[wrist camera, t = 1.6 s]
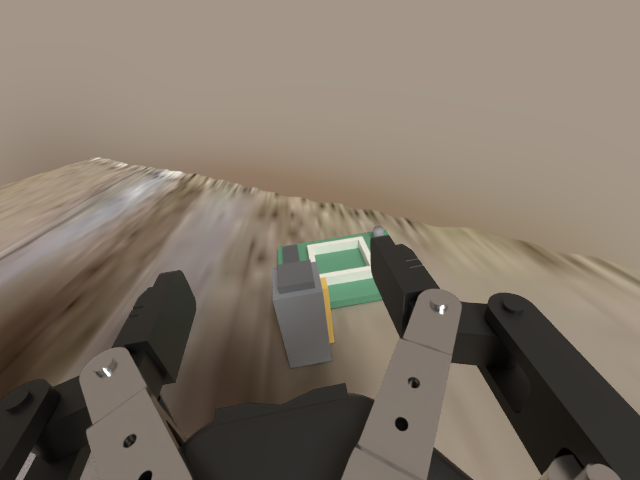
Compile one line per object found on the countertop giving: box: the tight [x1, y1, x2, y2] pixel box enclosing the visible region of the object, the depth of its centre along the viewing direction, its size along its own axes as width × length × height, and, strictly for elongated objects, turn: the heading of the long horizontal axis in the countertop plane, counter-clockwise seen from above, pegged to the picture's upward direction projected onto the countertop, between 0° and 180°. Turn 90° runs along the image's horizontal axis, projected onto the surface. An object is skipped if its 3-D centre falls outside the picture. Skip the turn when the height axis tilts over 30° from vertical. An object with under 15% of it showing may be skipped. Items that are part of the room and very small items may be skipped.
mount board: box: [278, 226, 389, 309], centre depth 42 cm, size 18×14×3 cm
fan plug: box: [273, 260, 334, 368], centre depth 30 cm, size 5×4×11 cm
